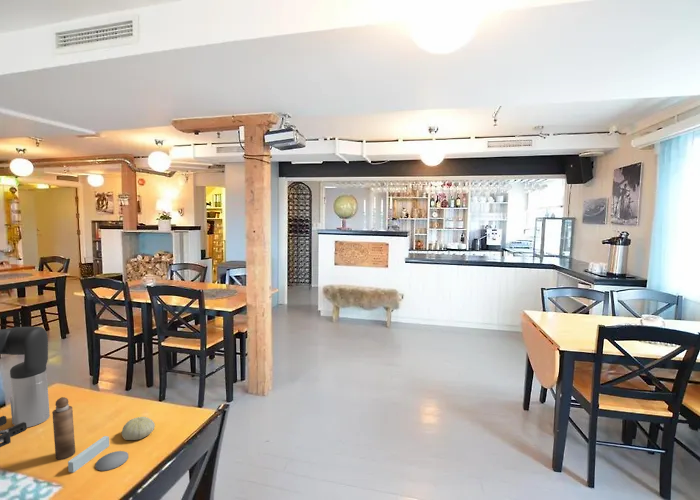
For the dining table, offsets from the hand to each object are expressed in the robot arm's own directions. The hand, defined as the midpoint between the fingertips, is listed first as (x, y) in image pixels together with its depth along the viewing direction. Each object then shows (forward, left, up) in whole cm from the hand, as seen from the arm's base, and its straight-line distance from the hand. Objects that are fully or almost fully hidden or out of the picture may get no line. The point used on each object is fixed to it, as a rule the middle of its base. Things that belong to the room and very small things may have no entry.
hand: (15, 422), depth 95 cm
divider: (+10, +11, -16) cm, 22 cm away
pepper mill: (+2, +11, -16) cm, 20 cm away
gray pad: (+18, +11, -16) cm, 27 cm away
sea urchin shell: (+15, +24, -17) cm, 33 cm away
